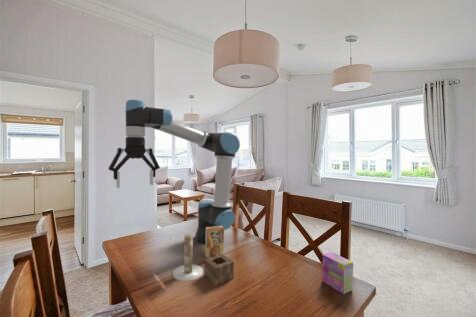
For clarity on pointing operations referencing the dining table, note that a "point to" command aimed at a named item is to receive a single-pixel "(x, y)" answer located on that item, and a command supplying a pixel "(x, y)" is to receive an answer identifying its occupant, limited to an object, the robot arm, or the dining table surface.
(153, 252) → the dining table surface
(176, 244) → the dining table surface
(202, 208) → the robot arm
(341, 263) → the box
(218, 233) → the candy box
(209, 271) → the pen pot
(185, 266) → the dowel
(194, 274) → the white plate
